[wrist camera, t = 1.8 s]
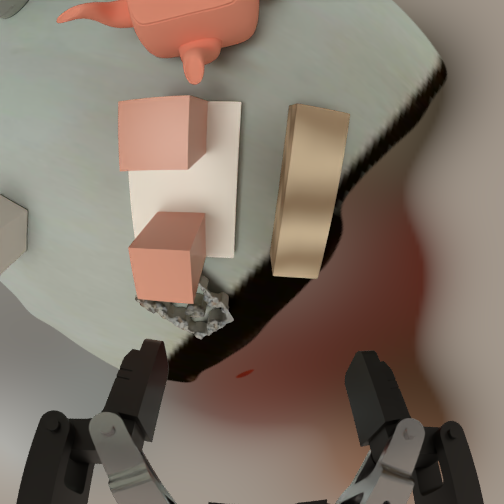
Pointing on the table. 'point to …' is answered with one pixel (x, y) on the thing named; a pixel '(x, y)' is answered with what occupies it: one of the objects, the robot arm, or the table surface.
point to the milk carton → (12, 232)
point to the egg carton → (194, 311)
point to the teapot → (177, 26)
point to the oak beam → (307, 189)
